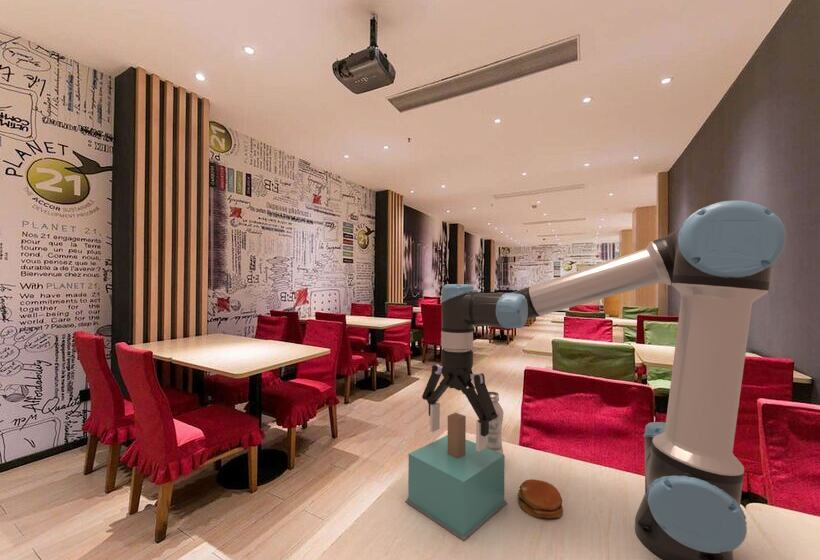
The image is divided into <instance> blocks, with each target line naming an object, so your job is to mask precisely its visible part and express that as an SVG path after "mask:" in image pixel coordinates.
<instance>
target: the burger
mask: <svg viewBox="0 0 820 560" xmlns="http://www.w3.org/2000/svg"><path fill="white" fill-rule="evenodd" d="M517 499H518V503H519V507H520V508H521V509H522V511H524V512H525V513H526V514H527V515H529V516H532V517H534V518H537V519H538V518H540V519H542V518H545V519H559V518H560V517H561V516H563V512H564V511H563V510H564V509H563V497H562V496H561V493H560V492H559V490H558V489H557V487H555V485H553V484H552V483H549V482H547V481H544V480H541V479H540V480H539V479H533V478H532V479H531V478H530V479H526V480H524V481H523V482H522V483H521V484H520V485H519V489H518V492H517Z"/></svg>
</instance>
